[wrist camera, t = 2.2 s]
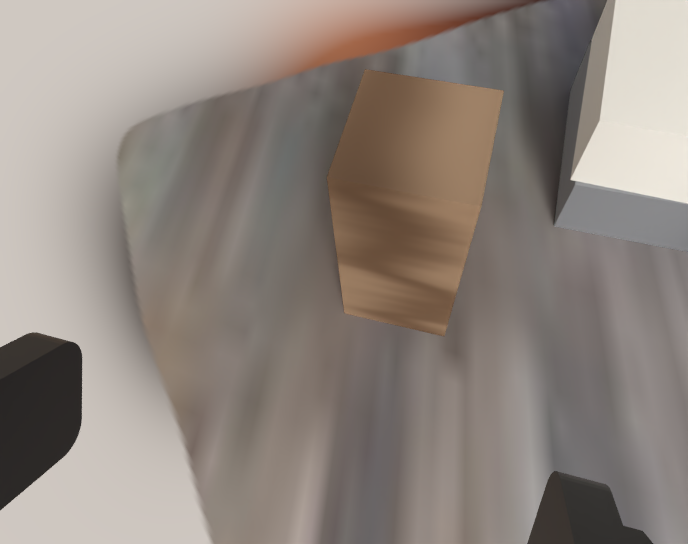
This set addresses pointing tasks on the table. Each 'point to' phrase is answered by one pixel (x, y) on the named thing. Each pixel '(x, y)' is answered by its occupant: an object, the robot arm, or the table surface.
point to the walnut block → (409, 195)
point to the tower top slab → (637, 101)
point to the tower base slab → (613, 197)
